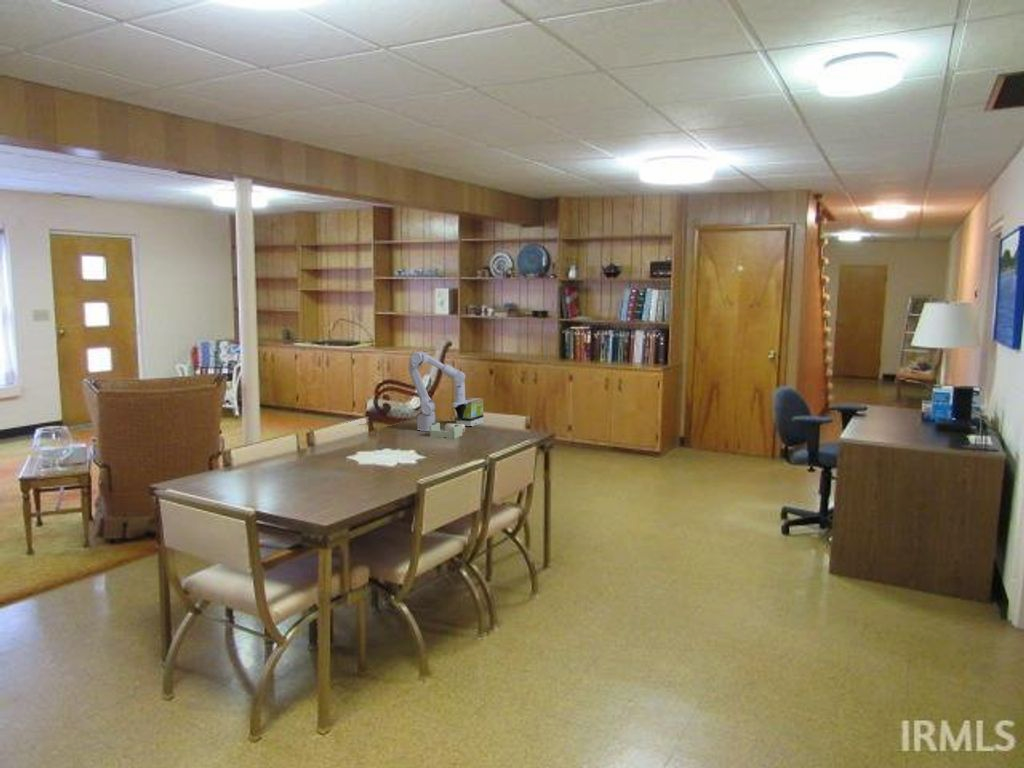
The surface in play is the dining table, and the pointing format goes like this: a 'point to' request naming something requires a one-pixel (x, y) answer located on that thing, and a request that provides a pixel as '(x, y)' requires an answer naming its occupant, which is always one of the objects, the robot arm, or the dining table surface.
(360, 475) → the dining table surface
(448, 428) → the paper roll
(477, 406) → the tea box
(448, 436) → the roll cradle
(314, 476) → the dining table surface
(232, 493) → the dining table surface
